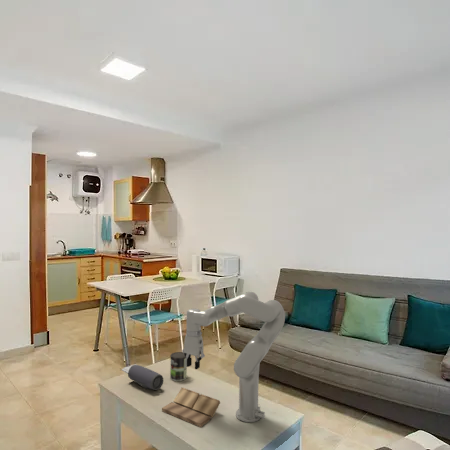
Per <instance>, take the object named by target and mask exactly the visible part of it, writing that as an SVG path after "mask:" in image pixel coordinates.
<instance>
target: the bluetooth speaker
mask: <svg viewBox="0 0 450 450" xmlns="http://www.w3.org/2000/svg"><path fill="white" fill-rule="evenodd" d="M132 365H133V366H131V365H130V366H131V367H130V369H129V371H128V373H127V376H128V378H129V379H130V380H132V381H133V382H135V383H137V384H138V385H139V386H140V387H142V388H144V389H148V390H154V391H157V390H160V389H161V388H162V387H163V384H164V377H163V375H162V374H160V373H159V372H157V371H154V370H152V369H150V368H147V367H145V366H142V365H139V364H136V365H134V364H132Z"/></svg>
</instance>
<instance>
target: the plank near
mask: <svg viewBox="0 0 450 450" xmlns="http://www.w3.org/2000/svg"><path fill="white" fill-rule="evenodd" d="M199 394H200V396H199V398H198V400H197V401H196V403H195V405H194V407H193V408H192V409H191V410H193V411H196V412H199V413H201V414H204V415H206V416H209V417H211V419H212V418H214V416H215V414H216V412H217V410H218V408H219V406H220V404H221V401H220V399H217V398H213V397H211V396H208V395H205V394H202V393H199Z"/></svg>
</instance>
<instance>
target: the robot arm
mask: <svg viewBox="0 0 450 450" xmlns="http://www.w3.org/2000/svg"><path fill="white" fill-rule="evenodd" d="M240 314H245V315H247V316H249V317H252V318H254V319H256V320H258V321H260V322H264V323H263V324H262V327H261V328H259V329H260V330H259V331H258V332H257V334H255V336H254V337H253V338H251V340H249V342H247V344H246V345H245V346H244V347H243V349H242V351H241V352H240V354H239V355H238V357H237V358H236V360H235V361H234V364H233V371H234V373H235V375H236V376H237V377H238V378H239V382H238V383H239V385H238V386H239V387H238V389H239V390H238V403H239V404H238V409H237V410H236V411H235V416H236V418H237V419H238V420H239V421H241V422H243V423H254V422H257V421H259V420H261V419H265V417H266V415H265V414H266V413H265V411H261V406H259V380H260V379H259V378H260V377H259V376H260V366H261V365H260V363H261V362H262V360H263V359H264V358H265V356H266V355H267V354H268V352H269V350H270V348H271V347H272V345H273V344H274V342H275V341H276V339H277V337H278V335H280V333H281V331H282V329H283V327H284V325H285V319H286V313H285V309H284V307H283V305H282V304H281V303H280V302H279V301H278V300H275V299H269V300H267V301H266V302H264V301H261V300H259V296H258V295H257V294H256V293H255V292H253V291H248V292H245V293H242V294H239V295H237V296H235V297H232V298H229V299H227V300H225V301H224V302H222V303H219V304H216V305H213V306H211V307H208V308H207V309H205V310H202V311H201V309H199V308H189V309H187V310H186V331H185V332H186V333H185V336H184V337H185V338H184V343H183V349H182V350H181V352H183V353H184V355H185V356H186V359H187V368H189V367H191V366H192V364H193V363H192V361H193V360H192V356H193V357H194V358H195V362H194V369H195V370H198V369H199V368H200V365H201V360H202V359H203V358H205V356H206V355H205V353H204V340H203V335H202V334H203V332H202V329H201V326H202V327H208V326H210V325H211V324H212V323H215V322H216V321H219V320H221V319H224V318H226V317H236V316H237V315H240Z"/></svg>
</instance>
